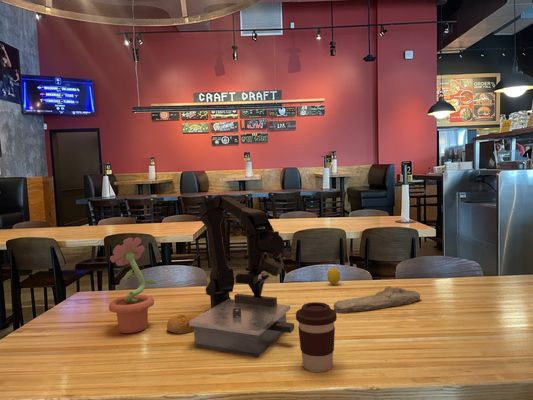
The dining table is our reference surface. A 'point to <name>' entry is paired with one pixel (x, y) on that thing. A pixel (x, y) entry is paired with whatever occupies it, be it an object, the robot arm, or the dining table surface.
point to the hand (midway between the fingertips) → (258, 298)
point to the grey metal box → (241, 339)
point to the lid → (242, 314)
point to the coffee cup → (316, 335)
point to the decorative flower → (133, 305)
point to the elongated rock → (377, 300)
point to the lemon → (333, 275)
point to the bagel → (180, 324)
